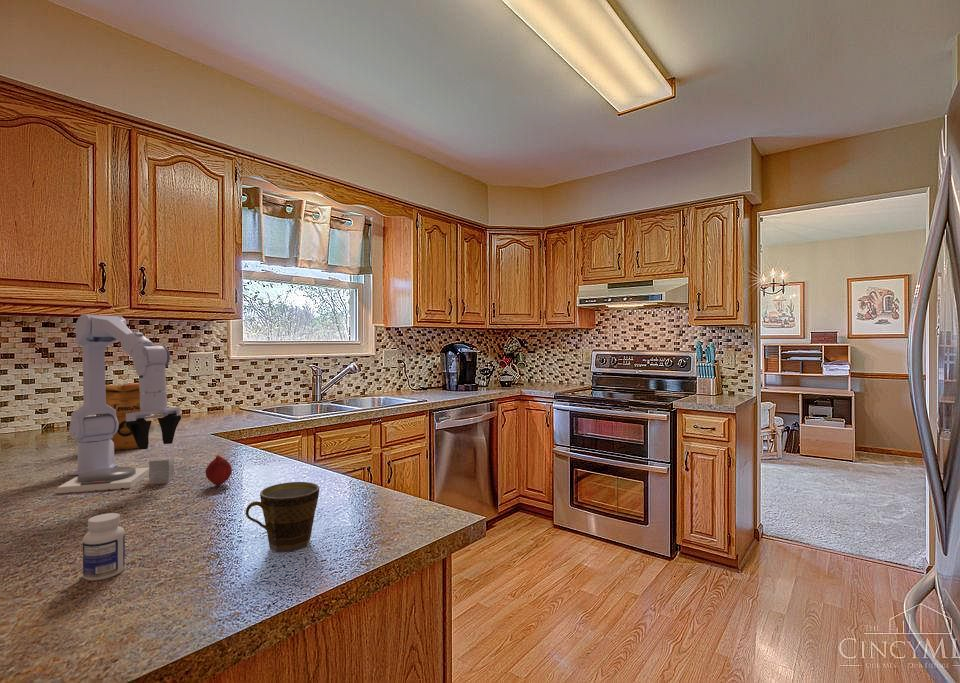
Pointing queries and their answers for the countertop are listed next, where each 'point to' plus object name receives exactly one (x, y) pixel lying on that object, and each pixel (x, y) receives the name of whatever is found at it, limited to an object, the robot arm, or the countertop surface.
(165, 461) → the block
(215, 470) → the onion
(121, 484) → the kitchen scale
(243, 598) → the countertop surface
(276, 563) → the countertop surface
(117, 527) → the pill bottle
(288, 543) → the ceramic cup
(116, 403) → the coffee package
